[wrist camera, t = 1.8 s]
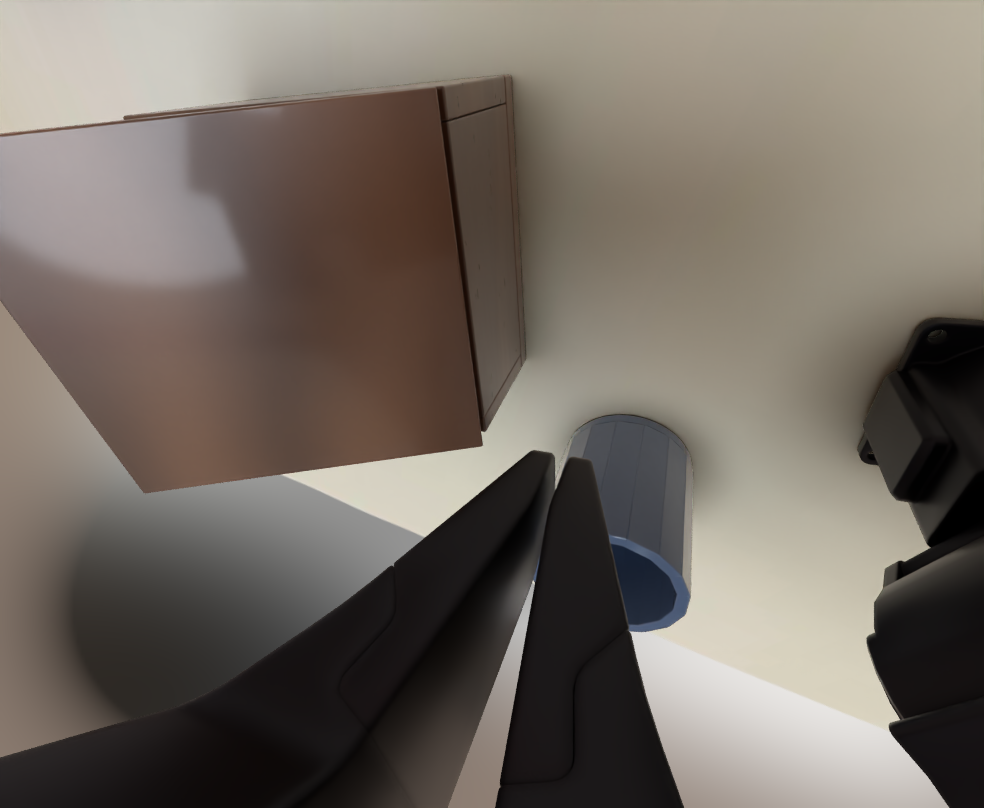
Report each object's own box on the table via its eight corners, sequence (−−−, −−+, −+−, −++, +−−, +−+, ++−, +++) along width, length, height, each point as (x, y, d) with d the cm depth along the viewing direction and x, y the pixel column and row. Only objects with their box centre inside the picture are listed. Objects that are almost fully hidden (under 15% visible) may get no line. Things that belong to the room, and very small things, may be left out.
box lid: (153, 479, 18) (143, 494, 18) (-87, 142, 12) (-117, 146, 11) (481, 433, 19) (482, 446, 18) (435, 85, 12) (436, 86, 11)
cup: (702, 424, 22) (702, 555, 16) (682, 516, 26) (676, 648, 20) (567, 406, 24) (525, 517, 18) (566, 493, 28) (532, 607, 22)
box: (324, 338, 27) (252, 395, 23) (245, 100, 20) (121, 116, 16) (526, 360, 23) (486, 433, 19) (511, 73, 16) (443, 85, 12)
